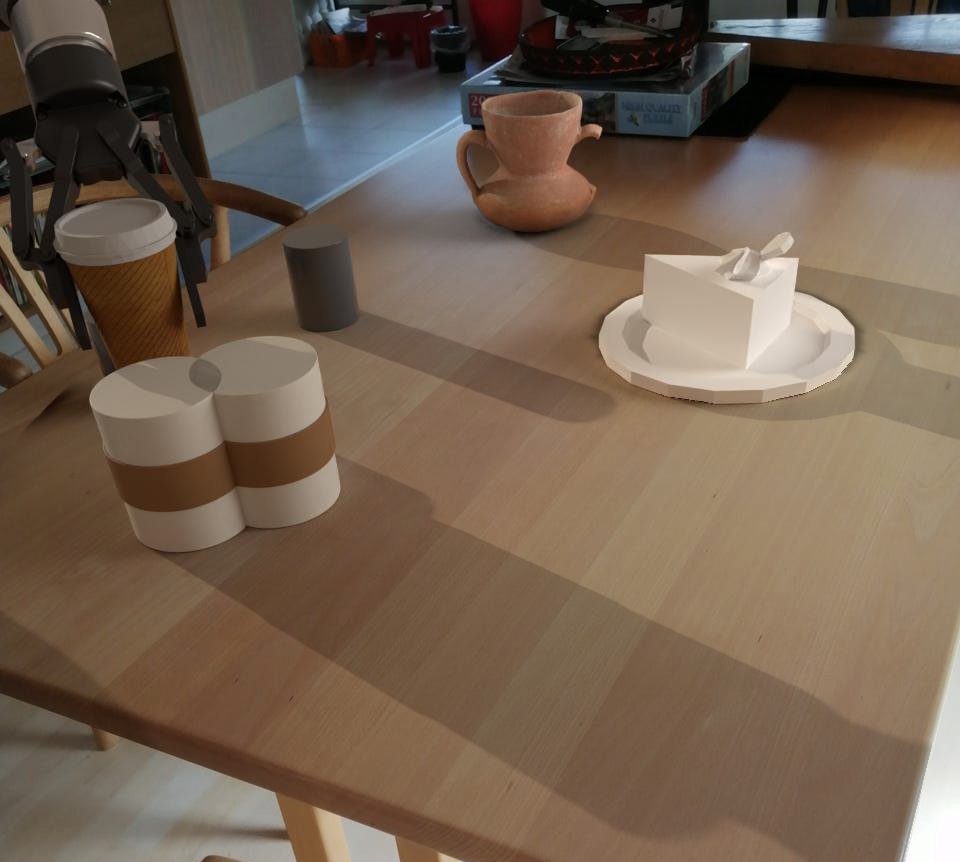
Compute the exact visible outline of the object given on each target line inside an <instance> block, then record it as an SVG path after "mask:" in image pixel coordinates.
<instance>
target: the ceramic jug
mask: <svg viewBox="0 0 960 862" xmlns="http://www.w3.org/2000/svg"><path fill="white" fill-rule="evenodd" d="M480 108H481V115H482V121H483V126H484V129H485V131H483V130H479V129H471V130H469V131H467V132H464V134H462V135H461V136H460V138H459V139H458V141H457V143H456V149H455V158H456V164H457V168H458V171H459V174H460V175H461V177H462V179H463V181H464V182H465V184H466V186H467V187H468V190H469V191H470V192H471V198H472V201H473V203H474V204H475V206H476V208H477V209H478V211H479V213H480V214H481V215H482V216H483V217H484V218H485V219H486V220H487V221H489V222H490V223H492V224H493V225H495V226H497V227H501V228H503V229H506V230H509V231H514V232H522V233H539V232H547V231H552V230H556V229H560V228H563V227H565V226H568V225H570V224H571V223H574V222H576V221H577V220H578V219H579V218H581V217H582V216H583V215H584V214H585V213H586V212H587V210H588V208H589V206H590V205H591V204H592V201H593V200H594V198H595V196H596V194H597V187H596V186H595V185H594V184H592V183H589V181H588V179H587V178H586V177H585V176H584V175H582V174H581V173H580V172H578V171H577V170H576V169H574V168H573V167H571V166H570V165H569V164H567V163H568V159H569V157H570V154H571V152H572V149H573V147H574V146H575V145H576V144H578V143H579V142H580V141H582V140H583V139H585V138H589V137H593V138H595V139H596V140H599V139H600V136H601V135H602V131H603V127H602V126H600V125H598V124H595V123H588V124H585V125H583V126H581V119H582V113H583V99H582V97H581V96H580V95H578V94H577V93H574V92H570V91H565V90H560V91H559V90H555V89H554V90H553V89H552V90H551V89H538V90H530V91H520V92H515V93H507V94H499V95H494V96H492V97H488V98H486V99H485V100H484V101H482V102H481V105H480ZM472 144H477V145H480V146H481V147H483V148H484V149H486V150H487V151H489V152H491V153H492V154H493V155H494V157H496V160H497V162H498V164H499V168H498V169H497V170H496V171H495V172H494V173H493V174H492V175H491V176H490V177H488V178H487V179H486V180H485V181H484V182H483V183H482V184H481V186H480V187H479V186H478V184H477V182H476V180H475V178H474V176H473V173H472V172H471V168H470V166H469V162H468V150H469V149H468V148H469V147H470V145H472Z"/></svg>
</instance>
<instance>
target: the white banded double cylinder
mask: <svg viewBox="0 0 960 862" xmlns="http://www.w3.org/2000/svg"><path fill="white" fill-rule="evenodd" d="M319 363H320V362H319V358H318V354H317V351H316V349H315V348H314V347H313V346H312V345H311V344H309V343H308V342H306V341H303V340H301V339H299V338H293V337H290V336H289V337H288V336H280V335H279V336H278V335H263V336H262V335H261V336H252V337H246V338H242V339H235V340H233V341H229V342H226V343H223V344H220V345H218V346H216V347H213V348H211V349H209V350H207V351H206V352H205V353H203V354H201V355H200V356H199V357H194V356H189V357H183V356H175V357H163V358H156V359H150V360H146V361H141V362H138V363H134V364H132V365H129V366H126V367H124V368H121V369H119V370H117V371H115V372H113V373H111V374H109V375H108V376H106V377H105V378H104V377H103V378H102V379H101V380H99V381H98V382H97V383H96V384H95V385H94V387H93V388H92V390H91V392H90V394H89V405H90V407H91V410H92V413H93V416H94V419H95V422H96V424H97V427H98V430H99V434H100V436H101V440H102V449H103V454H104V456H105V460H106V461H107V465H108V467H109V471H110V473H111V476H112V479H113V482H114V485H115V488H116V491H117V495H118V496H119V498H120V499H121V500H122V501H123V503H124V506H125V509H126V512H127V514H128V515H127V516H128V517H129V521H130V524H131V525H132V526H131V527H132V528H133V533H134V535H135V537H136V539H137V540H138V541H139V542H140V543H141V544H143V545H144V546H145V547H148V548H150V549H153V550H156V551H159V552H166V553H189V552H196V551H201V550H204V549H208V548H212V547H215V546H217V545H219V544H222V543H224V542H226V541H229V540H230V539H232V538H233V537H235V536H236V535H238V534H240V533H241V532H242V531H243V530H244V529H245V528H246V527H251V528H256V529H280V528H287V527H291V526H296V525H300V524H302V523H305V522H308V521H311V520H313V519H315V518H317V517H319V516H320V515H322V514H323V513H325V512H326V511H328V510H329V509H330V508H331V507H332V506H333V505H334V504H335V503H336V502H337V501H338V498H339V496H340V494H341V490H342V489H341V481H340V480H341V479H340V475H339V470H338V464H337V459H336V446H337V445H336V439H335V433H334V427H333V422H332V416H331V411H330V404H329V400H328V397H327V396H326V394H325V392H324V391H325V390H324V385H323V380H322V375H321V369H320V364H319Z"/></svg>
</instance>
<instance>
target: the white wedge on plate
mask: <svg viewBox="0 0 960 862" xmlns="http://www.w3.org/2000/svg"><path fill="white" fill-rule="evenodd" d="M794 242H795V240H794V237H793V236H792V235H791V233H790V231H784V232H782V233H779V234H777V235H776V236H774V237H773V239H771V241H770V242H768V244H767V245H765V247H764V248H762V249H761V250H760V252H758V251H757V250H754V249H752V248H749V247H748V246H746V247H741V248H740V247H739V248H734V249H732V250H731V251H730V252H729V253H726V254H723V255H691V254H690V255H685V254H683V255H681V254H644V265H643V266H644V268H643V285H642V286H643V288H642V290H643V291H642V294H640V295H638V296H634V297H632V298H629V299H627V300H625V301H623V302H622V303H620V304H619V306H617V307H616V308H615V309H613V310H612V311H611V312H609V313H608V314H607V315H605V318H604V320H603V323H602V326H601V328H600V331H599V334H598V348H599V350H600V353H601V356H602V358H603V361H604V362H605V364H606V366H607V368H609V369H610V370H612V372H614V373H616V374H617V375H618V376H619V377H621V378H623V379H624V380H625V382H627V383H629V384H630V385H634V386H636V387H638V388H642V389H644V390H647V391H650V392H652V393H655V394H658V395H661V394H662V395H661V396H663V395H664V396H663V397H666V396H667V397H666V398H671V397H675V398H674V399H678V398H684V399H689V400H688V401H691V400H695V401H694V402H698V401H704V402H708V403H707V404H711V403H713V404H712V405H724V404H725V405H726V404H727V405H728V404H729V405H731V404H763V403H769V402H773V401H772V400H774V401H777V400H776V399H779V398H784V397H789V396H793V397H795V396H794V395H798V394H803V393H806V392H808V393H810V392H809V391H811V390H813V389H815V388H817V387H819V386H821V385H823V384H825V383H827V382H829V383H831V382H833V381H832V380H834V379H836V378H837V377H838V376H839V375H840V376H841V374H842V373H843V372H844V371H845V370H846V369H847V368H848V366H849V365H850V364H851V363H852V362H853V360H854V354H855V349H856V341H855V340H856V339H855V338H856V337H855V336H856V334H855V326H853V324H852V323H851V322H850V321H849V320H848V319H847V318H846V317H845V316H844V315H843V313H842V312H841V311H840V309H838V308H836V307H834V306H832V305H830V304H828V303H826V302H824V301H822V300H821V299H818V298H817V297H814V296H813V295H811V294H807V293H804V292H800V291H796V290H795V289H796V284H797V283H796V282H797V274H798V269H799V268H798V267H799V261H800V258H799V257H780V256H782V255H785V254H786V253H787V252H788V251H789V250H790V249H791V247H792V246H793V245H794ZM852 359H853V360H852ZM850 362H851V363H850ZM849 363H850V364H849ZM848 364H849V365H848ZM847 365H848V366H847ZM845 368H846V369H845ZM844 369H845V370H844ZM843 370H844V371H843ZM842 371H843V372H842ZM841 372H842V373H841ZM840 376H839V377H840ZM839 377H838V378H839ZM838 378H837V379H838ZM837 379H836V380H837ZM830 381H831V382H830ZM834 381H835V380H834ZM827 384H828V383H827ZM825 385H826V384H825ZM823 386H824V385H823ZM821 387H822V386H821ZM819 388H820V387H819ZM817 389H818V388H817ZM815 390H816V389H815ZM813 391H814V390H813ZM811 392H812V391H811ZM806 394H807V393H806ZM803 395H804V394H803ZM798 396H799V395H798ZM789 398H790V397H789ZM684 399H683V400H684ZM784 399H785V398H784ZM696 400H697V401H696ZM779 400H780V399H779ZM768 401H769V402H768ZM704 402H703V403H704Z"/></svg>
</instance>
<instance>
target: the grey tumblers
mask: <svg viewBox="0 0 960 862" xmlns="http://www.w3.org/2000/svg"><path fill="white" fill-rule="evenodd" d="M281 243H282V249H283V253H284V259H285V265H286V270H287V275H288V280H289V285H290V286H289V287H290V291H291V297H292V301H293V308H294V312H295V318H296V322H297V324H298V326H299V327H301V328H302V329H304V330H307V331H312V332H332V331H337V330H340V329H341V330H342V329H344V328H347V327H350V326H352V325H353V324H355V323H356V322H357V321H358V320H359V319H360V317H361V311H360V303H359V297H358V290H357V284H356V277H355V271H354V262H353V255H352V250H351V249H352V248H351V242H350V236H349V230H347V228H345V227H343V226H340V225H336V224H311V225H306V226H302V227H299V228H296V229H293V230H291V231H289V232H287V233H286V234H284V236H283V237H282V238H281ZM83 316H84V320H85V324H86V327H87V331H88V334H89V337H90V338H91V339H90V340H91V342H92V344H93V347H94V351H95V353H96V354H95V355H96V357H97V360H98V363H99V366H100V368H101V372H102V375H103V378H105V377H106V376H108V375H109V374H111V373H113V372H115V371H117V370H116V368H115V366H114V363H113V361H112V359H111V357H110V355H109V353H108V351H107V348H106V347H105V344H104V342H103V340H102V338H101V336H100V333H99V331H98V329H97V327H96V325H95V323H94V320H93V319H92V317H91V315H90V312H89V310H88V309H87V310H86V311H85V313H84V315H83Z"/></svg>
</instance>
